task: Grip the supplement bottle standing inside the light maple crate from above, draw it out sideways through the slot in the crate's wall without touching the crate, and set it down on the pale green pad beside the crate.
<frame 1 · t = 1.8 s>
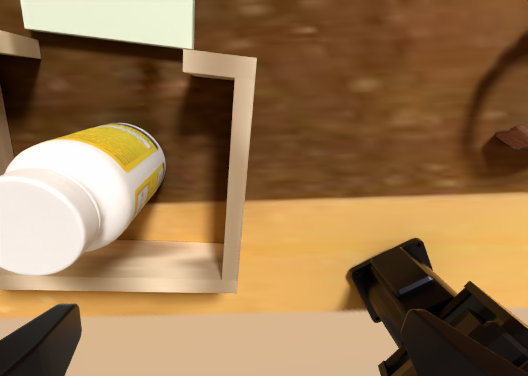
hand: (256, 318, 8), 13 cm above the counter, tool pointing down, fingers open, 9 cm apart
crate: (126, 162, 19), on the counter
supplement bottle: (127, 161, 19), resting in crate
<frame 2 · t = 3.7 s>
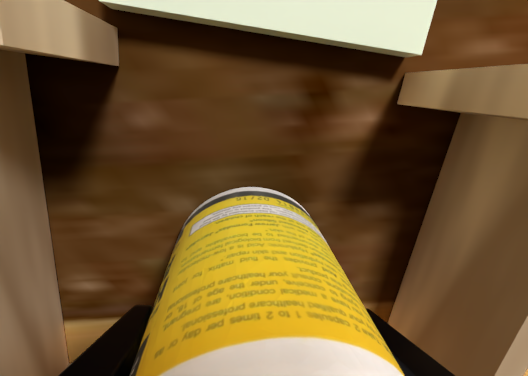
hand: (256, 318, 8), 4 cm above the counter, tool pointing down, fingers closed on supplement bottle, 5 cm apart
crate: (248, 248, 11), on the counter
supplement bottle: (248, 245, 11), resting in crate, touching gripper
when the fingers open (5 cm above the counter, at t = 7.6 s): supplement bottle stays where it is, resting on pad.
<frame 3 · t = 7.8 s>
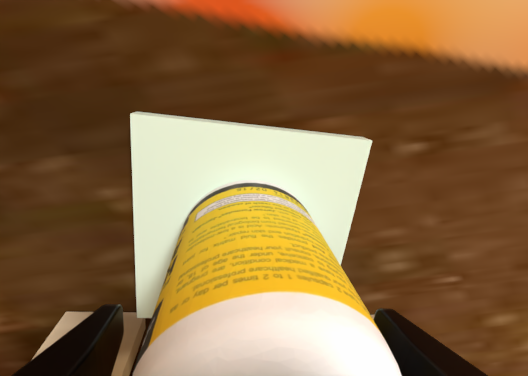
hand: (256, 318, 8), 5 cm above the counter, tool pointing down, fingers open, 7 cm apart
pad: (245, 226, 12), on the counter
supplement bottle: (247, 235, 12), point 1 cm above the counter, touching pad
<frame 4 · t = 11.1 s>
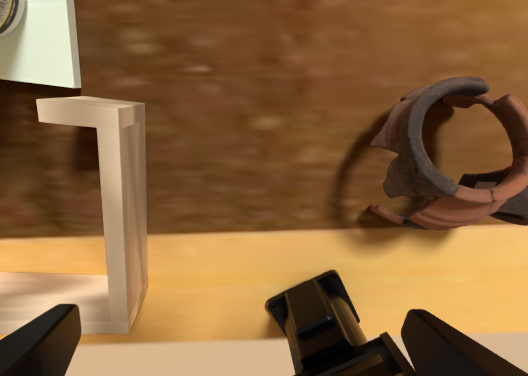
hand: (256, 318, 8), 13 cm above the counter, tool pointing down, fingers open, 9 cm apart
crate: (20, 197, 19), on the counter
brown curved piece: (419, 160, 21), on the counter
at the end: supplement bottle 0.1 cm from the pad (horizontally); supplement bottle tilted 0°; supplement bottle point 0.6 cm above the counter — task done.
